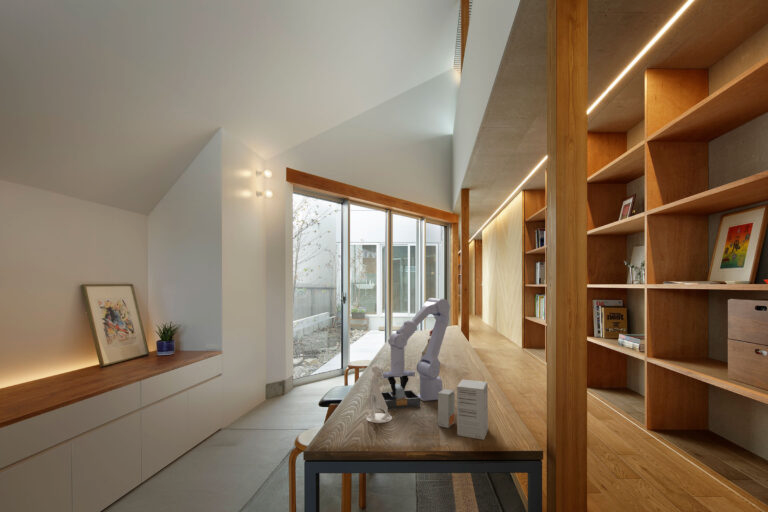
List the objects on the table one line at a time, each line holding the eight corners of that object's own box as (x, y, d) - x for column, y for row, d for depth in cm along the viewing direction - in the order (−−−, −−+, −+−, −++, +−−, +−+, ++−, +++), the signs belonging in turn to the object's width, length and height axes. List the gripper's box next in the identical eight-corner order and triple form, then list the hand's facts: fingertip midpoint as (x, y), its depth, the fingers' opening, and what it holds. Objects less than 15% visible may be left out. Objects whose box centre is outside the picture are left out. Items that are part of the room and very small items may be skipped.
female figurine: (352, 412, 158) (352, 361, 159) (392, 412, 157) (392, 361, 158) (348, 422, 148) (348, 368, 148) (391, 423, 147) (391, 368, 147)
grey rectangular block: (399, 397, 172) (399, 383, 172) (404, 404, 164) (404, 389, 164) (392, 398, 171) (392, 384, 171) (397, 405, 163) (397, 390, 163)
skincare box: (448, 428, 141) (448, 394, 142) (437, 426, 144) (437, 392, 144) (455, 422, 147) (454, 390, 147) (444, 420, 149) (444, 388, 149)
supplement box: (462, 425, 144) (461, 378, 145) (488, 429, 141) (487, 381, 141) (456, 435, 135) (456, 385, 136) (484, 440, 132) (483, 388, 132)
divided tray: (411, 398, 175) (411, 389, 175) (420, 406, 164) (420, 397, 164) (376, 401, 171) (376, 392, 171) (383, 410, 160) (382, 400, 160)
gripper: (383, 365, 163) (383, 398, 162) (417, 363, 166) (417, 395, 166) (379, 361, 170) (379, 393, 169) (411, 359, 173) (412, 390, 173)
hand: (397, 394), depth 168 cm, fingers closed on grey rectangular block, 3 cm apart
